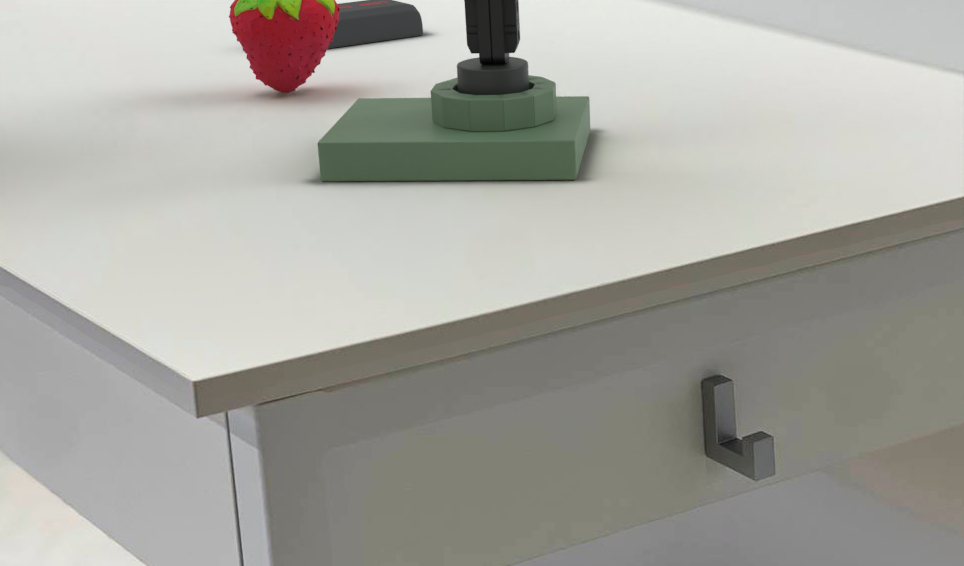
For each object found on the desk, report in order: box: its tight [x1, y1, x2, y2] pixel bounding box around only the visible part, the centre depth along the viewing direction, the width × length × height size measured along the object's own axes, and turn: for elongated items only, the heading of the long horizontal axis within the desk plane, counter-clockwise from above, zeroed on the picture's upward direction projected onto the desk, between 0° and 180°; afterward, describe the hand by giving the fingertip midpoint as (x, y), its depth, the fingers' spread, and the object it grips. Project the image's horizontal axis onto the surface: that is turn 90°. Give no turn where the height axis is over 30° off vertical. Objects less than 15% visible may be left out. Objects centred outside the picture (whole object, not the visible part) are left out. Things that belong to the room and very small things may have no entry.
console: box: [317, 75, 591, 182], centre depth 92 cm, size 14×11×4 cm
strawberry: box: [228, 0, 340, 94], centre depth 108 cm, size 6×7×10 cm
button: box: [456, 56, 529, 95], centre depth 91 cm, size 4×4×2 cm
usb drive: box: [327, 0, 424, 50], centre depth 128 cm, size 5×12×3 cm, turn 127°
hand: (494, 61), depth 91 cm, fingers closed
